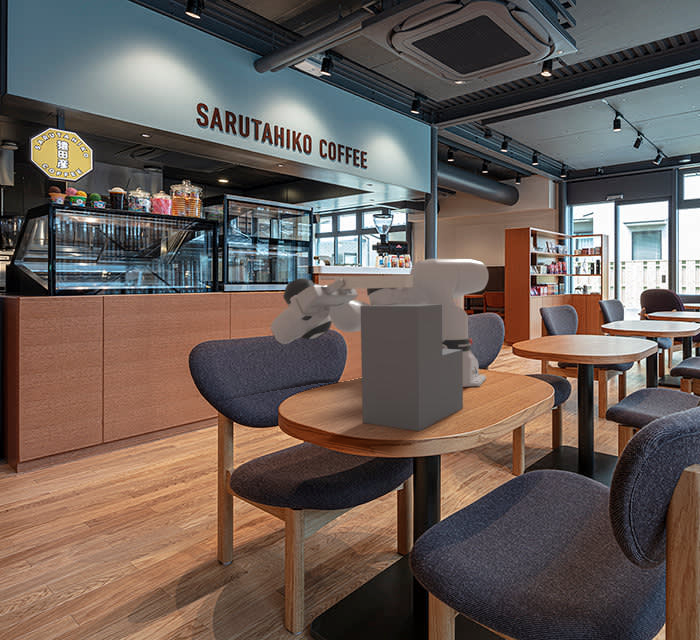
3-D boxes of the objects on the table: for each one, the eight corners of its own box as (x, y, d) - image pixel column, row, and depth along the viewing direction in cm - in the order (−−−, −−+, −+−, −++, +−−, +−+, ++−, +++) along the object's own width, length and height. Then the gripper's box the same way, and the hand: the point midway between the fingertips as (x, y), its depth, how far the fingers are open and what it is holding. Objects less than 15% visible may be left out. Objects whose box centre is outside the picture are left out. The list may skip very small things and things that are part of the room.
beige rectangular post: (343, 289, 138) (343, 278, 138) (412, 287, 126) (412, 275, 126) (334, 289, 135) (334, 277, 134) (405, 287, 123) (405, 275, 123)
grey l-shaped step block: (412, 402, 133) (410, 303, 131) (462, 408, 125) (462, 302, 124) (362, 422, 113) (360, 306, 112) (419, 431, 105) (417, 306, 104)
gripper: (340, 315, 149) (374, 291, 142) (295, 319, 132) (332, 292, 125) (331, 297, 151) (364, 272, 144) (285, 298, 134) (321, 270, 127)
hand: (349, 281), depth 134 cm, fingers closed on beige rectangular post, 4 cm apart
